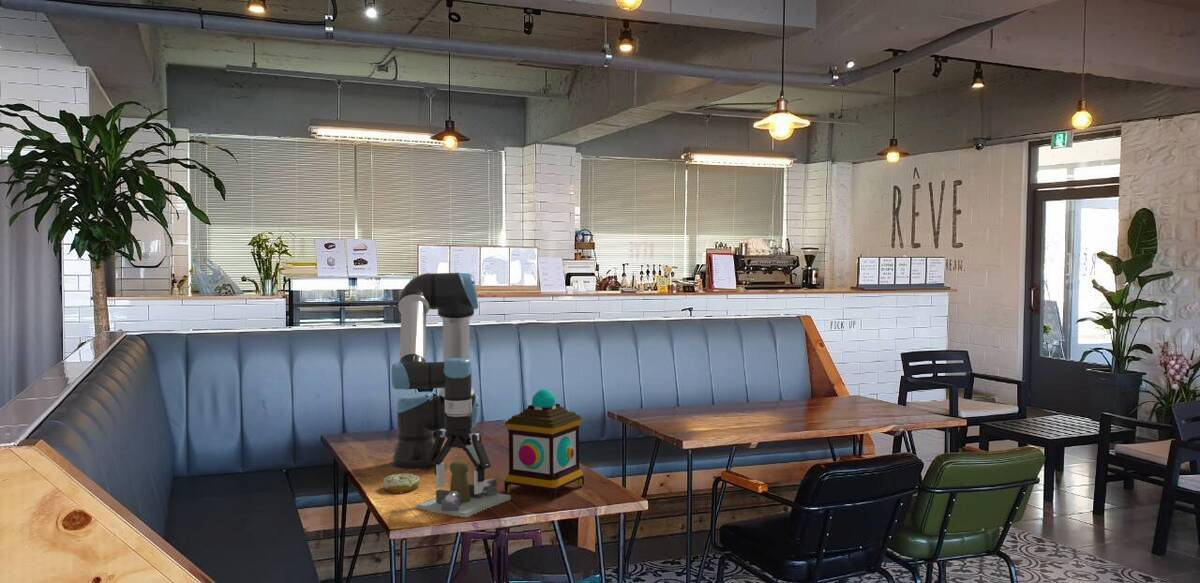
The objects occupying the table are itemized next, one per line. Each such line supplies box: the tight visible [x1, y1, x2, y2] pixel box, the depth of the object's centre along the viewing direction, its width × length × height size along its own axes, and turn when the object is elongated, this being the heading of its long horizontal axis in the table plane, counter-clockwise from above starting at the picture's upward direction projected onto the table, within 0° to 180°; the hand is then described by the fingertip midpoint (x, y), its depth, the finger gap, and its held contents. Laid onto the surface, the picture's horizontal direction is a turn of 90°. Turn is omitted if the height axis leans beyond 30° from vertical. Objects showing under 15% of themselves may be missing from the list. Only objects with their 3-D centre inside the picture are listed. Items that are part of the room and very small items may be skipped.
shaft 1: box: [441, 491, 461, 511], centre depth 238 cm, size 5×4×4 cm
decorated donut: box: [382, 473, 421, 494], centre depth 263 cm, size 10×11×4 cm
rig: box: [416, 482, 512, 518], centre depth 247 cm, size 17×20×5 cm
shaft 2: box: [482, 477, 498, 497], centre depth 252 cm, size 6×4×4 cm
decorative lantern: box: [503, 388, 585, 500], centre depth 261 cm, size 20×20×30 cm
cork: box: [449, 459, 471, 503], centre depth 246 cm, size 6×6×11 cm
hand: (459, 490), depth 246 cm, fingers open, 13 cm apart
